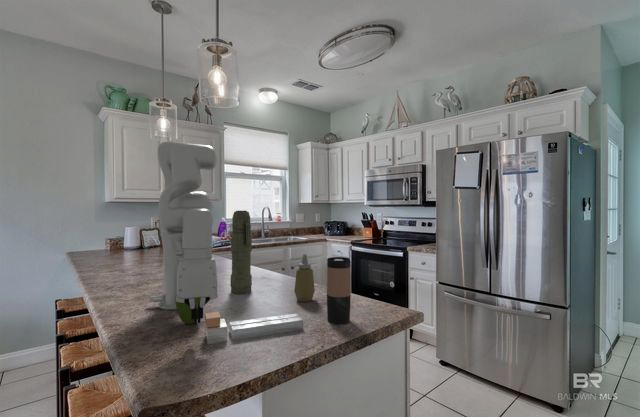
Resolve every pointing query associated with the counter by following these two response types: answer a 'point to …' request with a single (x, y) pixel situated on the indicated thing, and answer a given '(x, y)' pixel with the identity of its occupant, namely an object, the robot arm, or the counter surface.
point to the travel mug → (338, 290)
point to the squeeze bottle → (304, 281)
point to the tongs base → (252, 329)
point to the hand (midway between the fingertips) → (197, 321)
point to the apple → (185, 311)
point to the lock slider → (212, 319)
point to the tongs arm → (262, 320)
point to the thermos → (241, 253)
